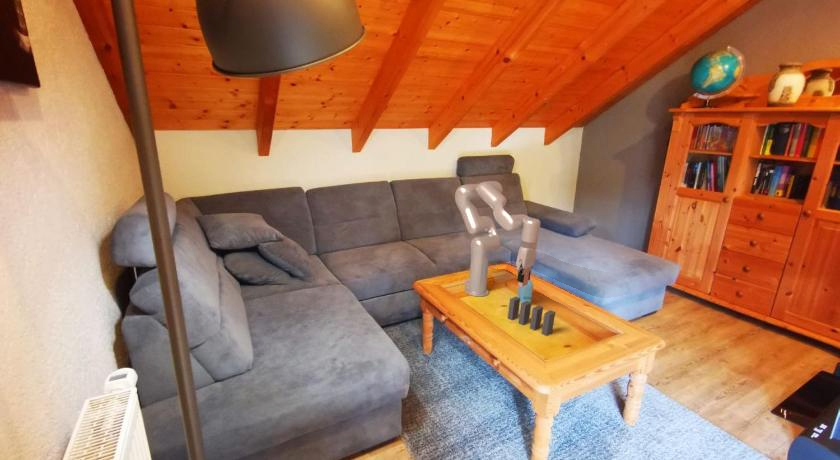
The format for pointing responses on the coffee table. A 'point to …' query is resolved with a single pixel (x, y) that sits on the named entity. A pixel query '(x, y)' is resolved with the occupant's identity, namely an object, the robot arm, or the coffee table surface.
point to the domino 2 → (525, 277)
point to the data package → (525, 292)
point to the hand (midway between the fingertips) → (523, 280)
